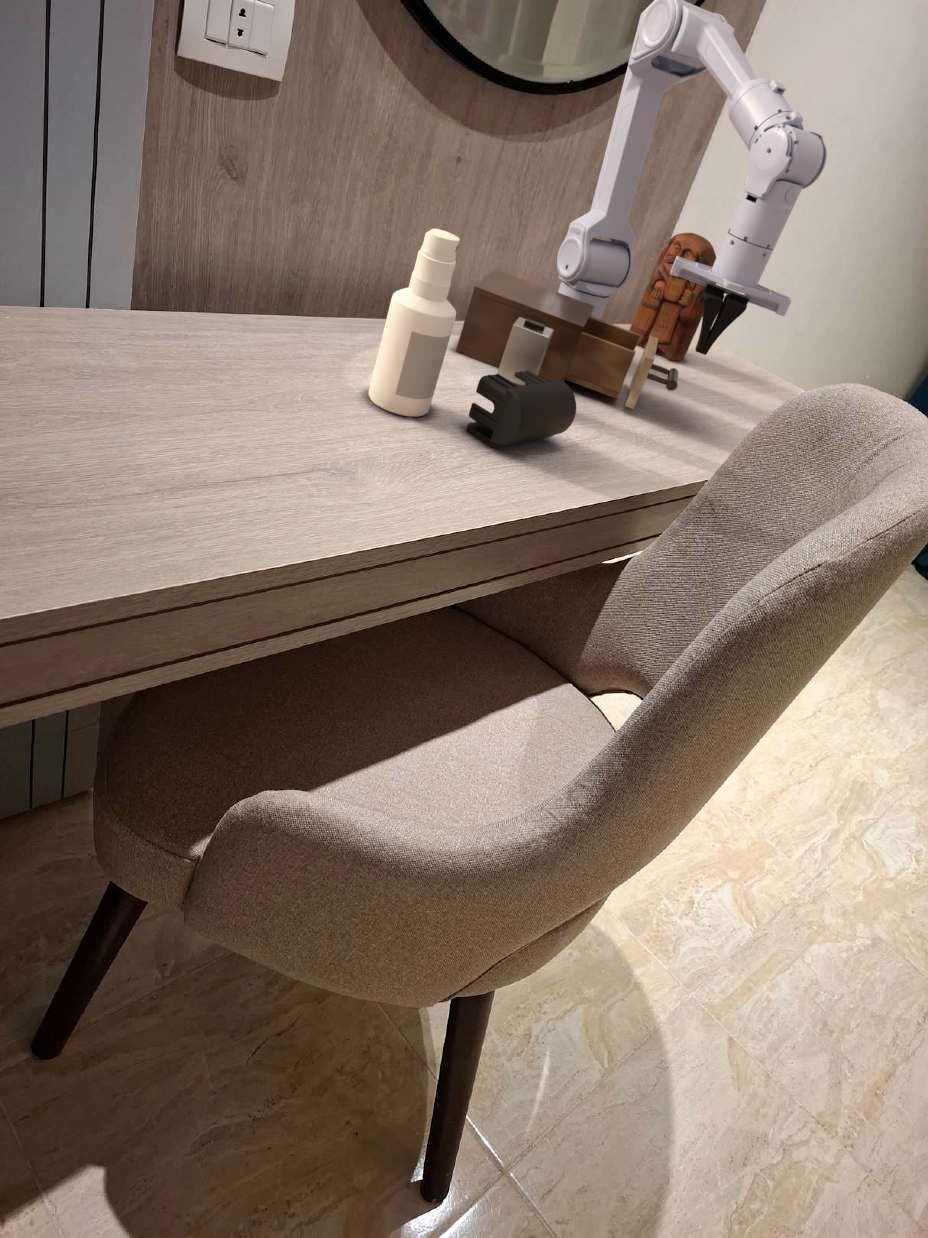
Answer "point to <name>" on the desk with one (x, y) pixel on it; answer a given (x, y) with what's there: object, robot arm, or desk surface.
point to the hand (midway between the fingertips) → (700, 351)
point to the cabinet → (513, 298)
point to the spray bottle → (417, 331)
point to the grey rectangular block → (525, 349)
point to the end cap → (521, 409)
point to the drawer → (614, 361)
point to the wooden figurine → (673, 298)
